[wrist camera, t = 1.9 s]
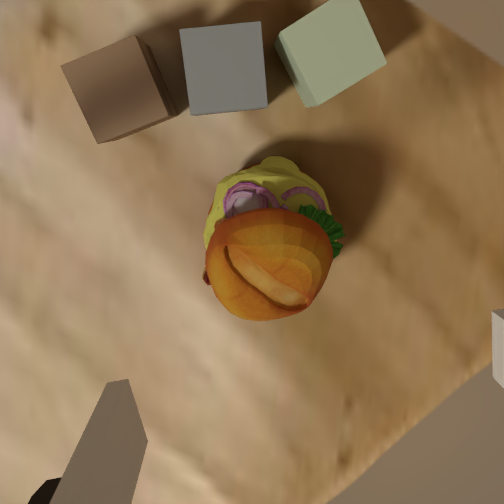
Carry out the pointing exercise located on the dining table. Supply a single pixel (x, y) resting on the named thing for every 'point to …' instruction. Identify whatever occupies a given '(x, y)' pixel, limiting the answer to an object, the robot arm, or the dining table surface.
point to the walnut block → (119, 89)
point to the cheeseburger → (269, 240)
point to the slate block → (224, 68)
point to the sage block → (329, 50)
